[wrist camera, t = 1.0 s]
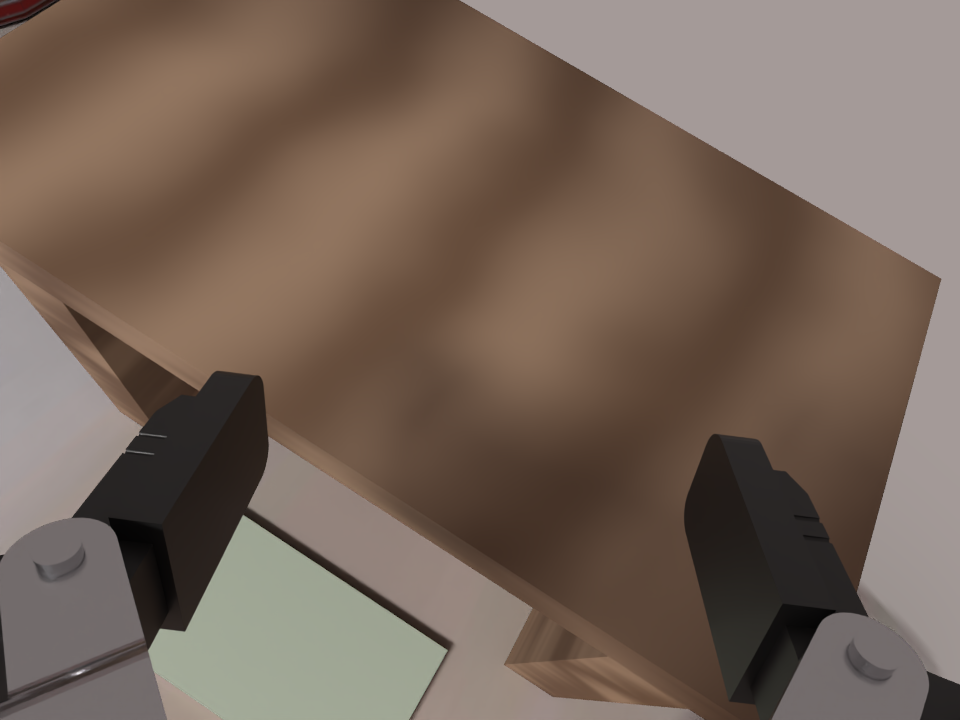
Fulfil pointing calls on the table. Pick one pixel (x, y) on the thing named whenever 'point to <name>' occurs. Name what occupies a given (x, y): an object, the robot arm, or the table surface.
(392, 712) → the mat
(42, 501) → the table surface
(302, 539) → the table surface
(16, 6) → the hourglass
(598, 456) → the shelf
